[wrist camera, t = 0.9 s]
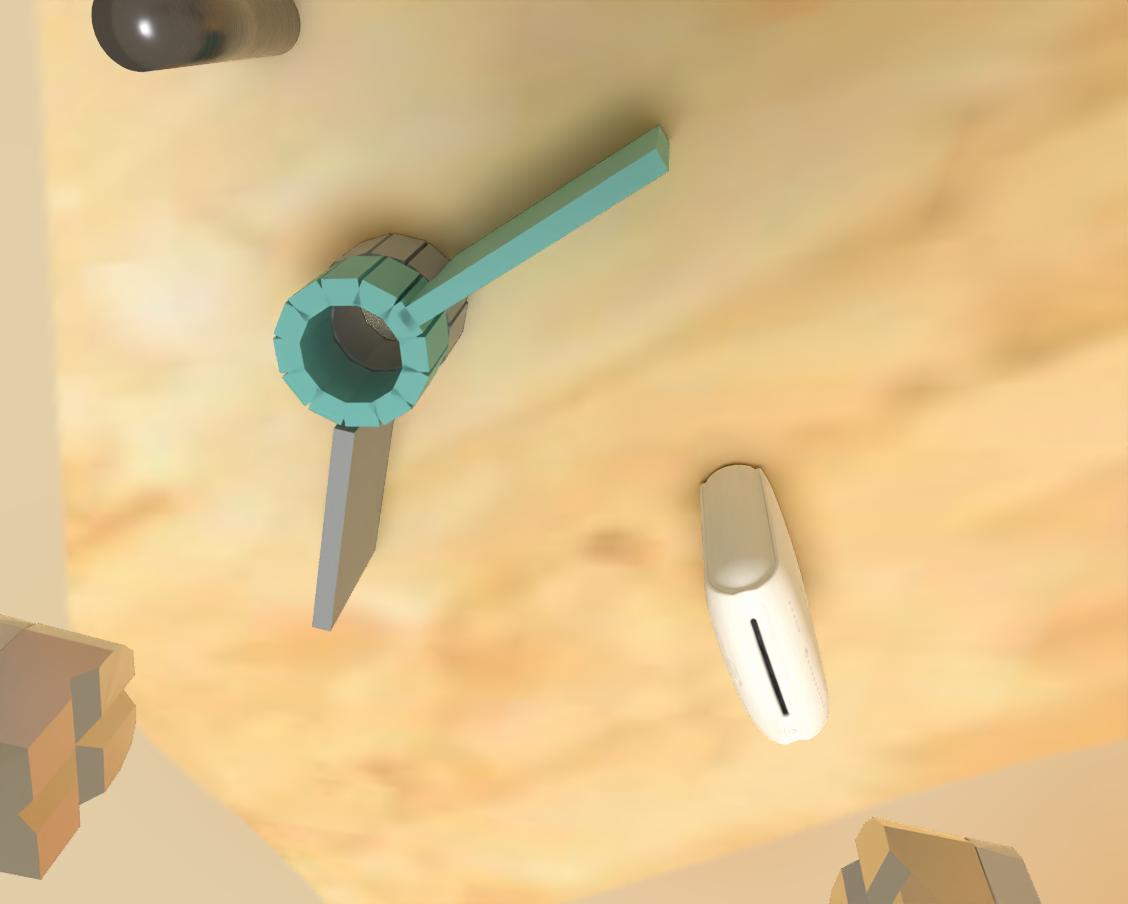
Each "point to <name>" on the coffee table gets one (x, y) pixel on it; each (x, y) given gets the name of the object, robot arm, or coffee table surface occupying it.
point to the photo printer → (761, 606)
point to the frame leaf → (365, 436)
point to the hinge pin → (192, 31)
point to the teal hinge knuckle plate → (433, 295)
